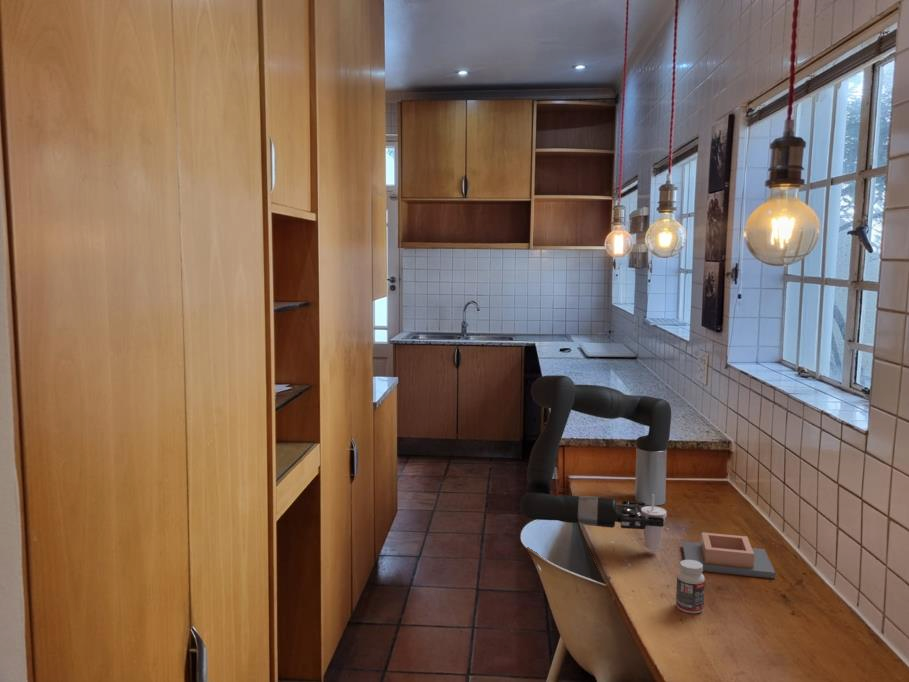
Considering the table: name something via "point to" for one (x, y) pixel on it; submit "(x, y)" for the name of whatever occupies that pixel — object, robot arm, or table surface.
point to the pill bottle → (690, 587)
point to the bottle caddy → (729, 555)
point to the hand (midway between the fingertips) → (663, 517)
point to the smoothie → (653, 532)
